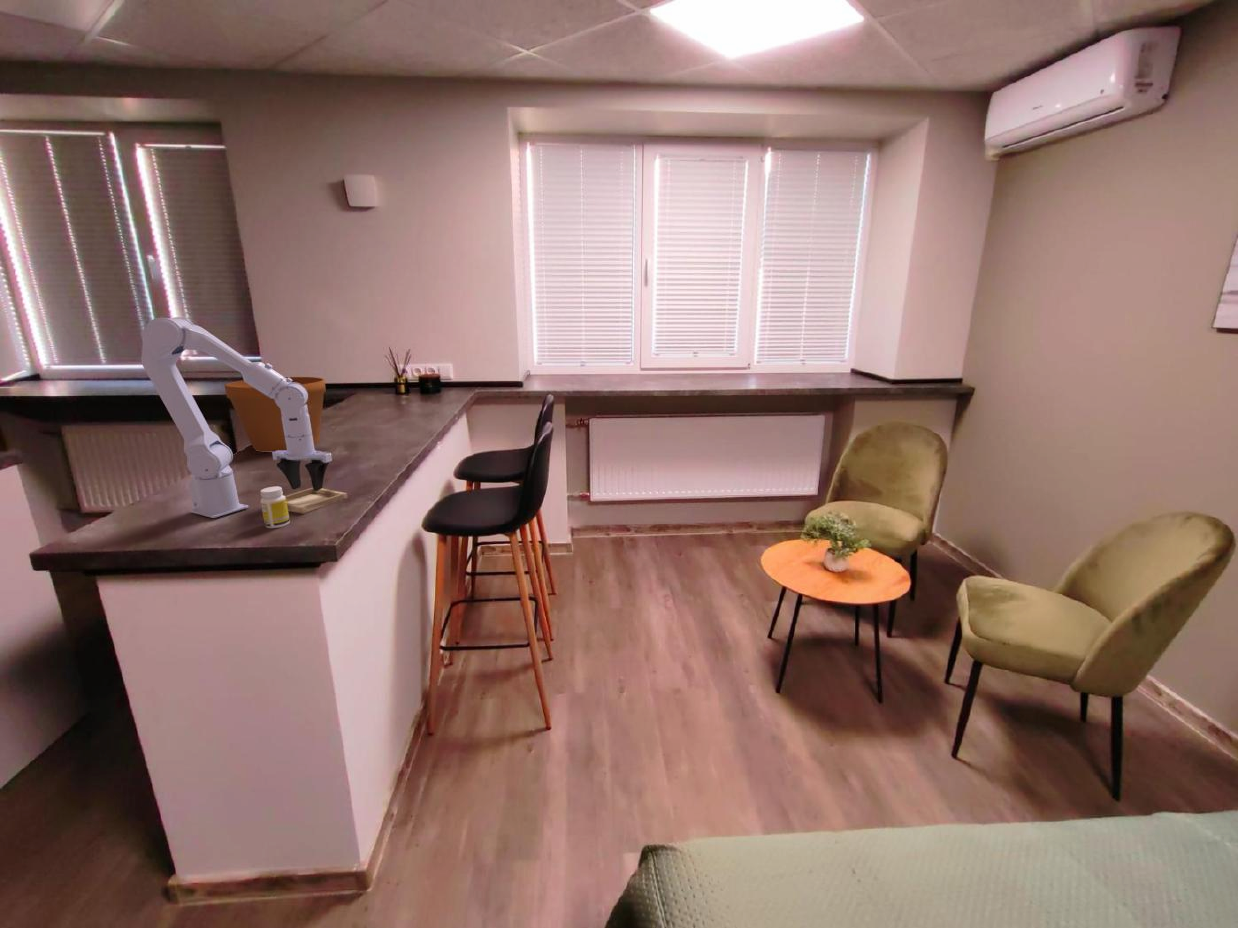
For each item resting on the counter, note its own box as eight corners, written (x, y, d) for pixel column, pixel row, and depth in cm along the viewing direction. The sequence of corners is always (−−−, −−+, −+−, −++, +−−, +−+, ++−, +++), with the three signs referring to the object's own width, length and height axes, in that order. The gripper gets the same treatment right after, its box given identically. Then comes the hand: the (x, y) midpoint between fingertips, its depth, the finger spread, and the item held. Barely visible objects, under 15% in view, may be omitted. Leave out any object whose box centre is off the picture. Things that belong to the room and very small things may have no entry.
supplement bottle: (294, 520, 123) (288, 485, 120) (284, 528, 118) (277, 492, 116) (271, 521, 122) (265, 486, 120) (260, 529, 118) (253, 492, 115)
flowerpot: (291, 464, 167) (279, 388, 161) (216, 459, 173) (201, 386, 166) (351, 443, 194) (342, 378, 187) (285, 439, 199) (274, 376, 193)
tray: (270, 507, 130) (269, 500, 130) (315, 493, 141) (314, 486, 140) (303, 515, 125) (302, 508, 125) (347, 499, 136) (346, 493, 135)
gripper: (258, 437, 126) (268, 492, 129) (313, 439, 123) (322, 495, 127) (281, 430, 132) (290, 483, 136) (334, 433, 130) (342, 486, 134)
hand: (307, 488), depth 132 cm, fingers open, 5 cm apart
